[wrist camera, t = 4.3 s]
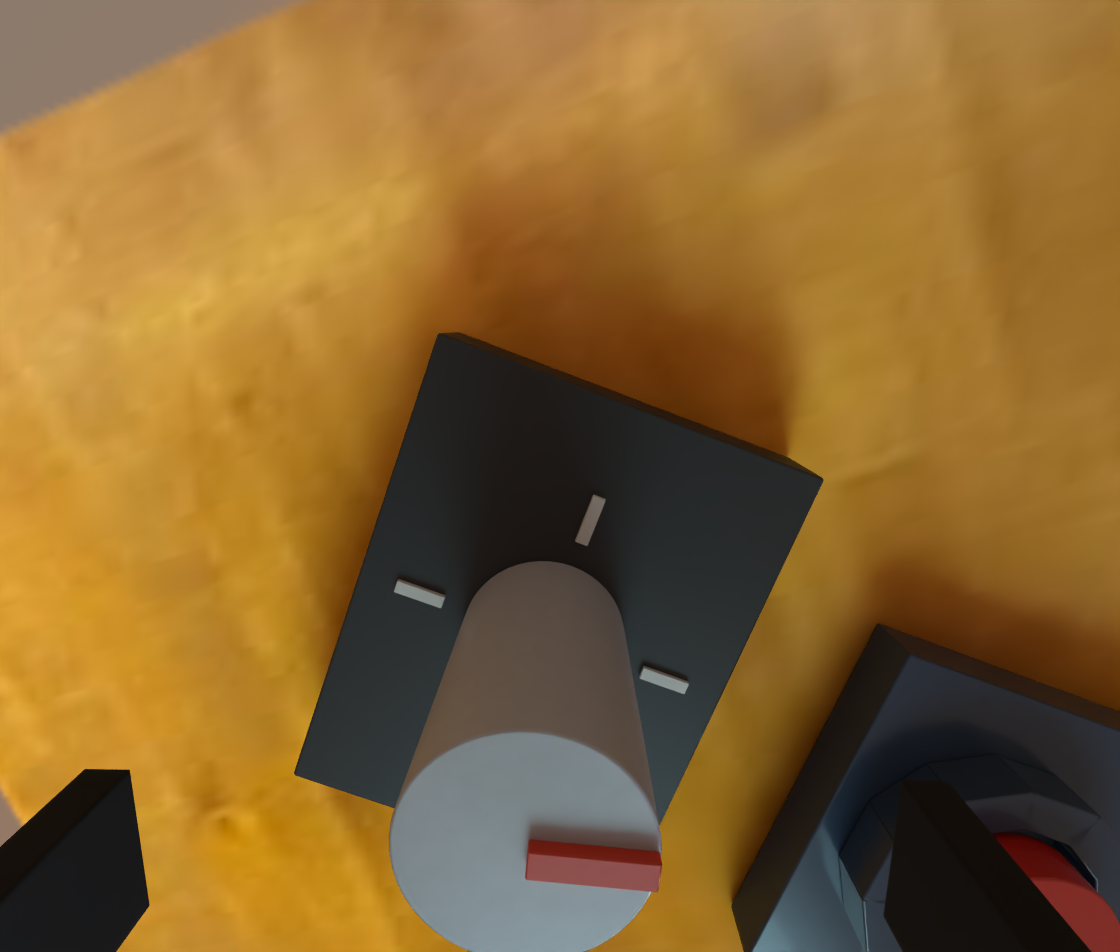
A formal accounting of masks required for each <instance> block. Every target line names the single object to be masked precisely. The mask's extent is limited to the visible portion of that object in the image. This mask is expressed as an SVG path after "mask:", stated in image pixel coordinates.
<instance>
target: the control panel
mask: <svg viewBox="0 0 1120 952" xmlns="http://www.w3.org/2000/svg"><path fill="white" fill-rule="evenodd" d="M822 483H823V478H822V477H820V476H818V475H817V474H815V473H813V472H812V471H810V470H808V469H807V468H805V467H803V466H801V465H800V464H798V463H796V462H795V461H793V460H791V459H790V458H788V457H785V456H783V455H780V454H777V453H775V452H772V451H770V450H767V449H764V448H762V447H759V446H756V445H754V444H751V443H749V442H746V441H743V440H741V439H738V438H735V437H733V436H730V435H728V434H725V433H722V432H720V431H717V430H714V429H712V428H709V427H706V426H704V425H701V424H699V423H696V422H693V421H691V420H688V419H685V418H683V417H680V416H678V415H675V414H672V413H670V412H667V411H664V410H662V409H659V408H657V407H654V406H651V405H649V404H646V403H643V402H641V401H638V400H635V399H633V398H630V397H628V396H625V395H622V394H620V393H617V392H614V391H612V390H609V389H607V388H604V387H601V386H599V385H596V384H593V383H591V382H588V381H586V380H583V379H580V378H578V377H575V376H572V375H570V374H567V373H564V372H562V371H559V370H557V369H554V368H551V367H549V366H546V365H543V364H541V363H538V362H536V361H533V360H530V359H528V358H525V357H522V356H520V355H517V354H515V353H512V352H509V351H507V350H504V349H501V348H499V347H496V346H493V345H491V344H488V343H486V342H483V341H480V340H478V339H475V338H472V337H470V336H467V335H465V334H462V333H459V332H456V333H439V334H438V335H437V338H436V341H435V344H434V347H433V350H432V353H431V356H430V359H429V362H428V365H427V368H426V371H425V374H424V377H423V380H422V384H421V387H420V390H419V393H418V396H417V399H416V402H415V405H414V408H413V411H412V414H411V417H410V420H409V423H408V426H407V429H406V432H405V435H404V439H403V442H402V445H401V448H400V451H399V454H398V457H397V460H396V463H395V466H394V469H393V472H392V475H391V478H390V481H389V484H388V487H387V490H386V493H385V497H384V500H383V503H382V506H381V509H380V512H379V515H378V518H377V521H376V524H375V527H374V530H373V533H372V536H371V539H370V542H369V545H368V548H367V552H366V555H365V558H364V561H363V564H362V567H361V570H360V573H359V576H358V579H357V582H356V585H355V588H354V591H353V594H352V597H351V600H350V603H349V607H348V610H347V613H346V616H345V619H344V622H343V625H342V628H341V631H340V634H339V637H338V640H337V643H336V646H335V649H334V652H333V655H332V658H331V661H330V665H329V668H328V671H327V674H326V677H325V680H324V683H323V686H322V689H321V692H320V695H319V698H318V701H317V704H316V707H315V710H314V713H313V716H312V720H311V723H310V726H309V729H308V732H307V735H306V738H305V741H304V744H303V747H302V750H301V753H300V756H299V759H298V762H297V765H296V768H295V771H294V775H296V776H299V777H302V778H305V779H308V780H311V781H314V782H317V783H320V784H323V785H326V786H329V787H332V788H335V789H338V790H341V791H344V792H347V793H350V794H353V795H356V796H359V797H362V798H365V799H368V800H371V801H374V802H377V803H380V804H383V805H386V806H389V807H392V808H395V806H396V803H397V800H398V797H399V795H400V792H401V789H402V786H403V784H404V781H405V778H406V775H407V773H408V770H409V767H410V765H411V762H412V759H413V756H414V754H415V751H416V748H417V745H418V743H419V740H420V737H421V734H422V732H423V729H424V726H425V724H426V721H427V718H428V715H429V713H430V710H431V707H432V704H433V702H434V699H435V696H436V694H437V691H438V688H439V685H440V683H441V680H442V677H443V674H444V672H445V669H446V666H447V663H448V661H449V658H450V655H451V653H452V650H453V647H454V644H455V642H456V639H457V636H458V633H459V631H460V628H461V625H462V623H463V620H464V617H465V614H466V612H467V609H468V607H469V605H470V603H471V601H472V599H473V598H474V596H475V594H476V593H477V592H478V591H479V589H480V588H481V587H482V586H483V585H484V584H485V583H486V582H487V581H488V580H490V579H491V578H492V577H494V576H495V575H497V574H498V573H500V572H502V571H503V570H505V569H507V568H510V567H513V566H515V565H518V564H523V563H527V562H535V561H551V562H557V563H563V564H566V565H570V566H573V567H575V568H577V569H580V570H582V571H584V572H585V573H587V574H589V575H590V576H592V577H593V578H594V579H596V580H597V581H598V582H599V583H600V584H601V585H602V586H603V587H604V588H605V589H606V590H607V591H608V592H609V594H610V595H611V596H612V598H613V599H614V601H615V603H616V605H617V607H618V609H619V612H620V614H621V617H622V621H623V626H624V631H625V637H626V642H627V648H628V653H629V659H630V665H631V670H632V676H633V681H634V687H635V693H636V698H637V704H638V709H639V715H640V721H641V726H642V732H643V737H644V743H645V749H646V754H647V760H648V765H649V771H650V777H651V782H652V788H653V793H654V799H655V805H656V810H657V816H658V821H659V825H660V823H661V821H662V819H663V817H664V815H665V813H666V811H667V808H668V806H669V804H670V802H671V800H672V798H673V796H674V794H675V792H676V790H677V787H678V785H679V783H680V781H681V779H682V777H683V775H684V773H685V771H686V769H687V766H688V764H689V762H690V760H691V758H692V756H693V754H694V752H695V750H696V747H697V745H698V743H699V741H700V739H701V737H702V735H703V733H704V731H705V729H706V726H707V724H708V722H709V720H710V718H711V716H712V714H713V712H714V710H715V708H716V705H717V703H718V701H719V699H720V697H721V695H722V693H723V691H724V689H725V687H726V684H727V682H728V680H729V678H730V676H731V674H732V672H733V670H734V668H735V665H736V663H737V661H738V659H739V657H740V655H741V653H742V651H743V649H744V647H745V644H746V642H747V640H748V638H749V636H750V634H751V632H752V630H753V628H754V626H755V623H756V621H757V619H758V617H759V615H760V613H761V611H762V609H763V607H764V605H765V602H766V600H767V598H768V596H769V594H770V592H771V590H772V588H773V586H774V583H775V581H776V579H777V577H778V575H779V573H780V571H781V569H782V567H783V565H784V562H785V560H786V558H787V556H788V554H789V552H790V550H791V548H792V546H793V544H794V541H795V539H796V537H797V535H798V533H799V531H800V529H801V527H802V525H803V523H804V520H805V518H806V516H807V514H808V512H809V510H810V508H811V506H812V504H813V501H814V499H815V497H816V495H817V493H818V491H819V489H820V487H821V485H822Z"/></svg>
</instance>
